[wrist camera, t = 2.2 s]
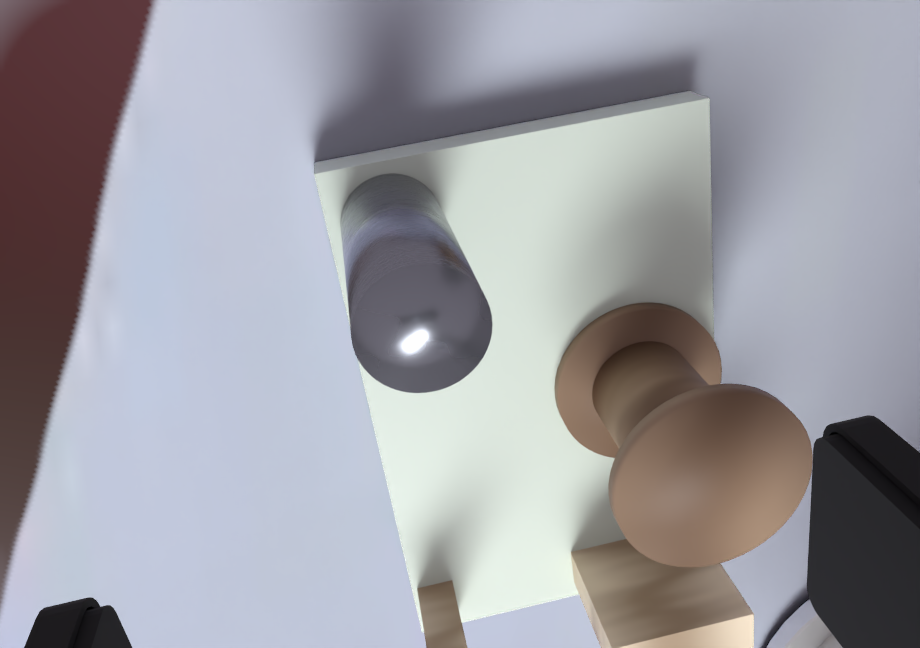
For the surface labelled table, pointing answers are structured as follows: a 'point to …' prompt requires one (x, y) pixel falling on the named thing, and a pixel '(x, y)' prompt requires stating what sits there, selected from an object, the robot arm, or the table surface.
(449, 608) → the notched rail
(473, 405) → the base board
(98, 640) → the robot arm
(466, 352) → the peg
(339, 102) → the table surface
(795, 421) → the bobbin
